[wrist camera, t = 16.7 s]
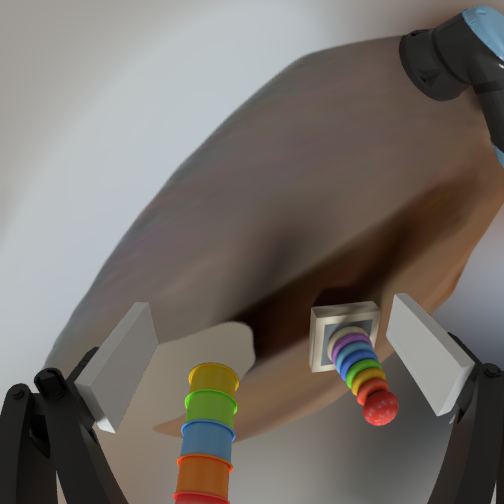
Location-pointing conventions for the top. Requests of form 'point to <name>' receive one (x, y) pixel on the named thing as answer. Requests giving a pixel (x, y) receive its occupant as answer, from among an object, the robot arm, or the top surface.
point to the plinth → (338, 328)
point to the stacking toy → (363, 373)
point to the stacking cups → (207, 436)
